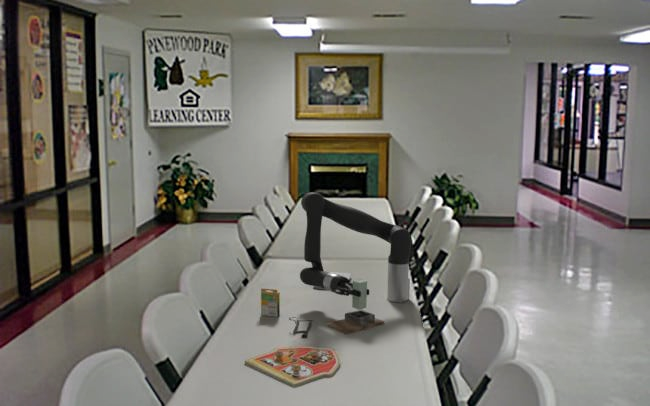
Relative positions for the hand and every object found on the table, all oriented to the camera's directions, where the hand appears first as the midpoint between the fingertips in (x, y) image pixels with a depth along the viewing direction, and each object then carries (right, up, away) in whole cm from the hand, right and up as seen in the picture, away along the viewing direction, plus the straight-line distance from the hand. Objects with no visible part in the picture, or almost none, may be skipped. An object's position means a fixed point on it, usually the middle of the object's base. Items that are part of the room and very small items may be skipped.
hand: (364, 293), depth 263 cm
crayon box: (-38, -11, +14) cm, 42 cm away
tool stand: (-3, -13, +3) cm, 14 cm away
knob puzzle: (-23, -20, -37) cm, 48 cm away
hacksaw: (-26, -14, -1) cm, 30 cm away
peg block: (-2, -6, +3) cm, 7 cm away
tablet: (-12, -4, +65) cm, 66 cm away
